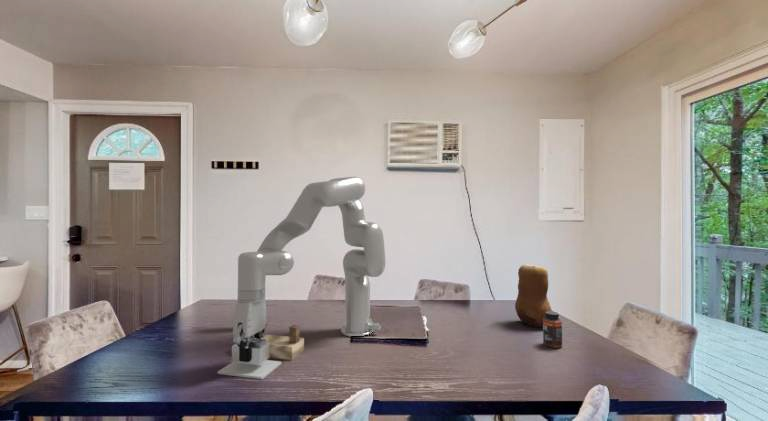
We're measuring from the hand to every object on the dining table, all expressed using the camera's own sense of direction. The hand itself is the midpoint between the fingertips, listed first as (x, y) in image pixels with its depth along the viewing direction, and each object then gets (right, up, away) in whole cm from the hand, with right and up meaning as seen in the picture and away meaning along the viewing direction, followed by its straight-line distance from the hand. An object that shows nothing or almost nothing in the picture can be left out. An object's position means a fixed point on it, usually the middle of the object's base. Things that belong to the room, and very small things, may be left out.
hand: (250, 356), depth 97 cm
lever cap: (0, -1, 0) cm, 1 cm away
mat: (0, -3, 0) cm, 3 cm away
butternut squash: (+101, -5, +40) cm, 108 cm away
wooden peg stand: (+3, -4, +12) cm, 12 cm away
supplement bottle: (+98, -5, +19) cm, 99 cm away
